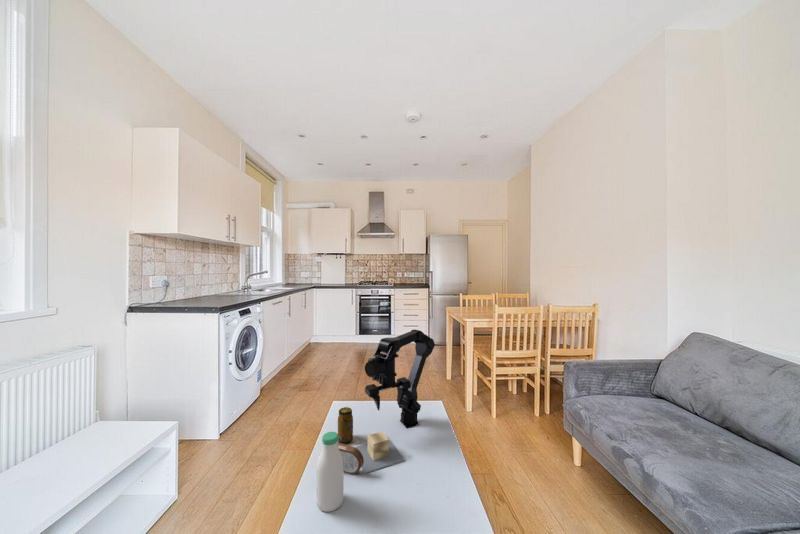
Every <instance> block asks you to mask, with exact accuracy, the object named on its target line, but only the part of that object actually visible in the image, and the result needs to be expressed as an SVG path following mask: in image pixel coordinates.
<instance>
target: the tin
mask: <svg viewBox="0 0 800 534" xmlns="http://www.w3.org/2000/svg"><path fill="white" fill-rule="evenodd" d="M337 445H338V448H339V451H340V453H341V455H342V458H343V473H344V474H345V473H346V474H349V475H356V474H357V473H359V471H360V470H361V468H362V466H363V463H364V459H363V455H362V453H361V452H360V451H359V450H358V449H357V448H355V447H356V446H353V445H351V446H349V445H344V444H340V443H337Z"/></svg>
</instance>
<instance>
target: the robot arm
mask: <svg viewBox="0 0 800 534" xmlns="http://www.w3.org/2000/svg"><path fill="white" fill-rule="evenodd" d="M411 343H414V344H415V347H414V348H415V357H414V360H413V364H412V366H411V369H410V372H409V375H408V378H406V377H405V376H403V377H398V378H397V379H396V377H397V375H398V374H397V373H396V358H399V354H398V352H399V351H400V350H401V348H402V347H404V346H407V345H409V344H411ZM435 344H436V343H435V341H434V339H433V338H431V337H430V336H428V335H427V334H426V333H424V332H423V331H422V330H419V329H411V330H410V331H408V332H405V333H403V334H400V335H398V336H394V337H383V338H381V339H380V340H379V342H378V343H377V347H376V349H375V351H374V353H373V357H371V358H368V359H367V362H366V363H365V365H364V371H365V374H366V376H367V377H369V378H371V379H372V381H376V383H378V384H379V385H378V386H377V385H376V384H375V383H372V384H368V385H366V386H365V387H364V392H365V394H366V395H367V396H368V397H369V398H372V399H373V401H374V403H375V406H376V409H377V410H378V411H380V408H381V395H380V392H381V391H386V390H389V389H390V390H391V389H395V388H396V391H397V395H396V397H397V398H396V402H397V405H398V408H399V409H401V413H400V420H399V422H400V423H401V424H402V425H403V426H404V427H405V428H406V429H408V428H411V427H415V426H419V425H420V423H419V421H418V413H419V412H420V411H421V409H422V405H421V404H420V403H419V402H418V398H419V397H418V393H417V392H418V389H417V388H418V385H419V382H420V379H421V376H422V373H423V369H424V367H425V363H426V361H427V358H428V357H429V356H430V355H432V353H433V350H434V348H435V346H436V345H435Z"/></svg>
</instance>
